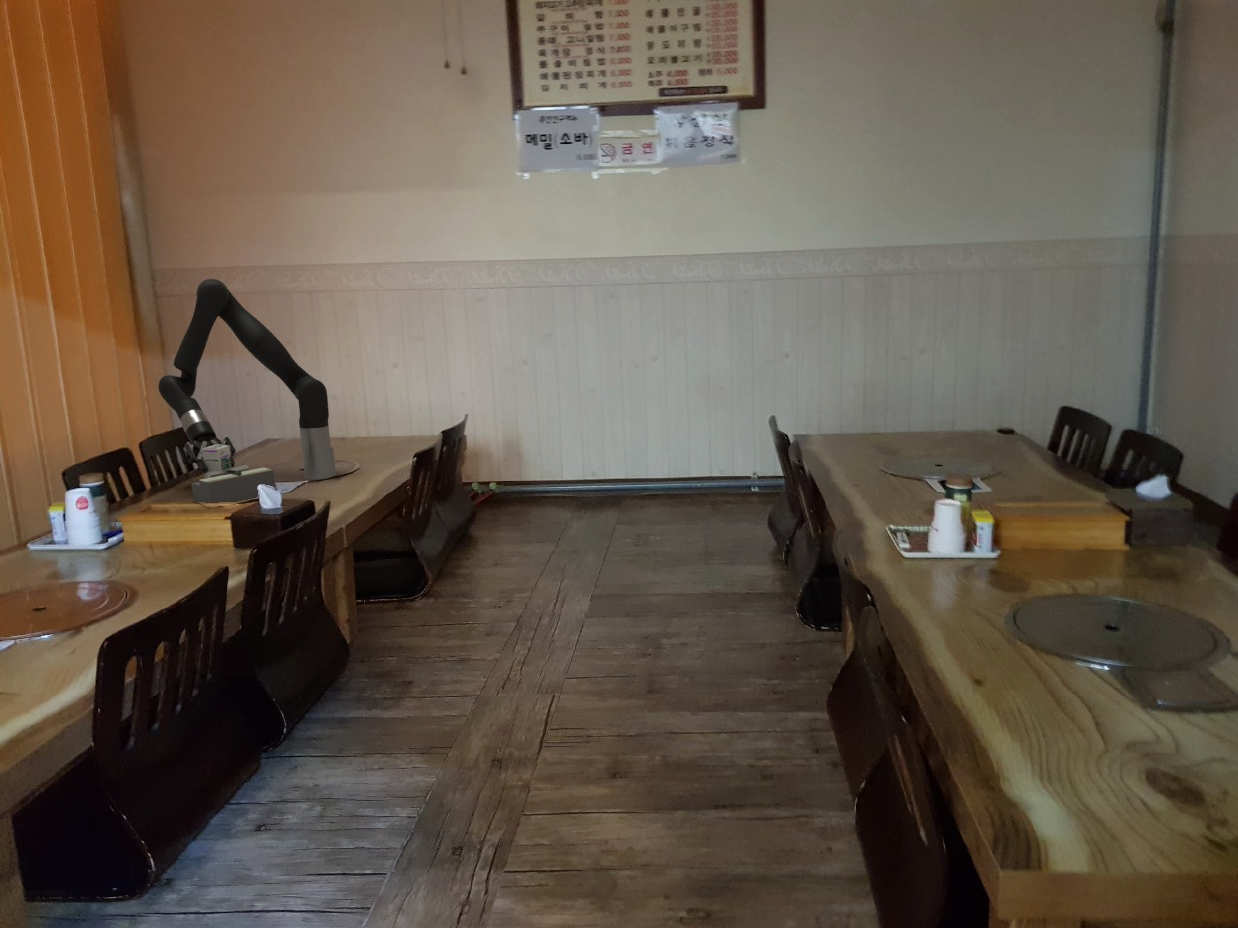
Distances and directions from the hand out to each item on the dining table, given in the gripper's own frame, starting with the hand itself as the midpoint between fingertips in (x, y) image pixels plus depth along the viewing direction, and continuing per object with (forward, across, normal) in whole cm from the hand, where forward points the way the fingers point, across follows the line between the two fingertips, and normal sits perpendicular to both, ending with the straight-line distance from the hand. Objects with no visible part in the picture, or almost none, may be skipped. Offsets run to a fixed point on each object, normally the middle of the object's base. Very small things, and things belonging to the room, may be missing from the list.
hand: (219, 469), depth 299 cm
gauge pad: (+12, 0, -1) cm, 12 cm away
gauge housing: (+11, 0, 0) cm, 11 cm away
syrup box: (+5, 0, +6) cm, 8 cm away
